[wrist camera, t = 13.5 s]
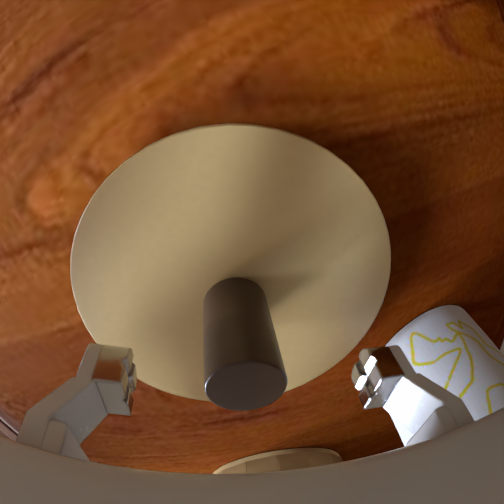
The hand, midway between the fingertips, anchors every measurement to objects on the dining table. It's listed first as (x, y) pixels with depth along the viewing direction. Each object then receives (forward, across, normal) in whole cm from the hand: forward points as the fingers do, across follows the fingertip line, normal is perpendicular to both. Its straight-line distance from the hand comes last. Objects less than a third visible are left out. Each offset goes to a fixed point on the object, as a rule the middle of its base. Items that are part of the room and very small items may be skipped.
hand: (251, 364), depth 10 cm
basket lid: (+4, 0, 0) cm, 4 cm away
